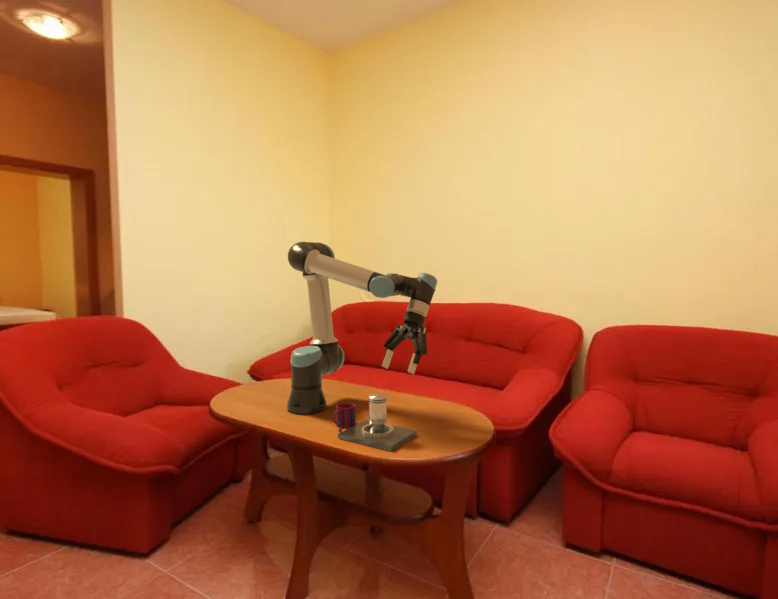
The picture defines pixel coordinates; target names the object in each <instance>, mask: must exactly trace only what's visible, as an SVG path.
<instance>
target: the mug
mask: <svg viewBox="0 0 778 599" xmlns="http://www.w3.org/2000/svg"><path fill="white" fill-rule="evenodd" d="M335 406H336V407H335V411H334V413H333V417H332V420H333V423H334V424H335V425H336V426H337V427H338V428H341V427H343V428H342V429H349V428H351V427H353V426H355V425H357V423H356V419H357V418H356V404H355V403H352V402H340V403H338V404H336V405H335ZM348 427H349V428H348Z"/></svg>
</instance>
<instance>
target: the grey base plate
mask: <svg viewBox="0 0 778 599" xmlns="http://www.w3.org/2000/svg"><path fill="white" fill-rule="evenodd" d="M417 431H418V430H416V429H413V428H412V429H411V428H406V427H401V426H398V425H392V424H389V423H388V424H387V423H386V432H385V433H369V419H366V420H363V421H361V422H359V423H356V424H355V426H353V427H349V428H346V429H345V430H343V431H341V432H339V433H337V439H338V438H339V439H338V440H342V439H343V440H342V441H346V442H350V441H351V443H354V442H355V444H360V445H361V446H362V445H363V446H366V445H367V447H370V446H371V447H372V448H374V447H375V449H378V448H379V450H383V449H384V451H387V452H393V451H394V450H396V449H397V448H399V447H400V446H402V445H404V444H405V443H407V442H408V441H410V440H412V439H413V438H414V437H416V436H417V433H418V432H417ZM415 435H416V436H415ZM412 437H413V438H412ZM409 439H410V440H409ZM406 441H407V442H406ZM371 447H370V448H371ZM392 450H393V451H392Z"/></svg>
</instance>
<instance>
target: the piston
mask: <svg viewBox="0 0 778 599" xmlns="http://www.w3.org/2000/svg"><path fill="white" fill-rule="evenodd" d="M387 399H388V397H387V394H385V393H379V392H378V393H377V392H376V393H370V394H369V395H368V420H369V433H385V432H386V424H387Z"/></svg>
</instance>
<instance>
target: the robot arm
mask: <svg viewBox="0 0 778 599" xmlns="http://www.w3.org/2000/svg"><path fill="white" fill-rule="evenodd" d="M335 257H336V256H335V253H334V251H333V249H332V248H331V247H330V246H329V245H328V244H325V243H322V242H312V241H298V242H296V243H294V244H293V245H291V246H290V248H289V249H288V252H287V261H288V264H289V265H290V267H291V268H292V269H294V270H296V271H298V272H300V273H301V272H302V277H303V279H305V280H306V284H307V292H308V302H309V313H310V323H311V324H310V325H311V334H312V335H311V336H312V339H311V340H310V342H309V345H307V346H300V347H298V348H295V349H294V350H292V352H291V355H290V360H289V361H290V380H291V381H290V382H291V383H290V384H291V385H290V386H291V390H290V393H289V395H288V400H287V403H286V410H287V411H288V410H289V411H290V412H289V411H288V412H289V413H291V412H293V413H292V414H296V413H298V414H297V415H309V414H310V415H311V414H316V413H320V412H323V411H325V410H327V408H328V407H327V405H328V404H327V403H328V402H327V399H326V395H325V393H324V391H323V385H322V384H323V378H322V377H325V376H327V375H330V374H333V373H336V372H337V371H338V370H340V369H341V368H342V366H343V365H344V362H345V352H344V350H343V348H342V347H341V346H340V345H339V340H338V339H337V338H336V337H335V335H334V325H333V315H332V304H331V294H330V284H329V279H331V280H334V281H336V282H340V283H341V284H342V283H343V284H345V285H348V286H351V287H354V288H357V289H359V290H362V291H365V292H369V293H371V294H372V295H373V296H374V297H376V298H378V299H379V298H381V299H385V298H390V297H395V296H401V297H407V298H410V300H409V302H408V305H407V307H406V311H405V314H404V316H403V325H400V324H396V326H395V328H394V330H393V331H392V332H391V334H390V335H389V337H388V338H387V339H386V340H385V342H384V344H383V348H385V352H384V356H383V361H382V363H381V367H382V368H385V369H387V370H388V369H389V367H390V363H391V362H392V358H393V355H394V353H395V352H394V350H395V349H396V348H397V347H398V346H399V345H400V344H401V343H403V341H405V340H411V341H412V345H413V349H414V352H413V353H412V356H411V359H410V363H409V365H408V368H407V372H408V373H410V374H412V375H415V372H416V369H417V367H418V365H419V364H420V361H421V358H422V356H423V355H425V356H427V354H428V346H427V345H428V344H427V342H428V341H427V333H428V329H427V328H425V326H424V324H425V321H426V317H427V314H428V312H429V309H430V305H431V302H432V300H433V297H434V294H435V292H436V287H437V284H438V280H437V278H436V276H434V275H432V274H430V273H426V272H421V273H418V276H417V277H410V276H406V275H402V274H398V273H392V272H389V273H387V274H382V273H380V272H377V271H373V270H371V269H368V268H365V267H362V266H359V265H355V264H352V263H349V262H346V261H344V260H341V259H337V258H335Z"/></svg>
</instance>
